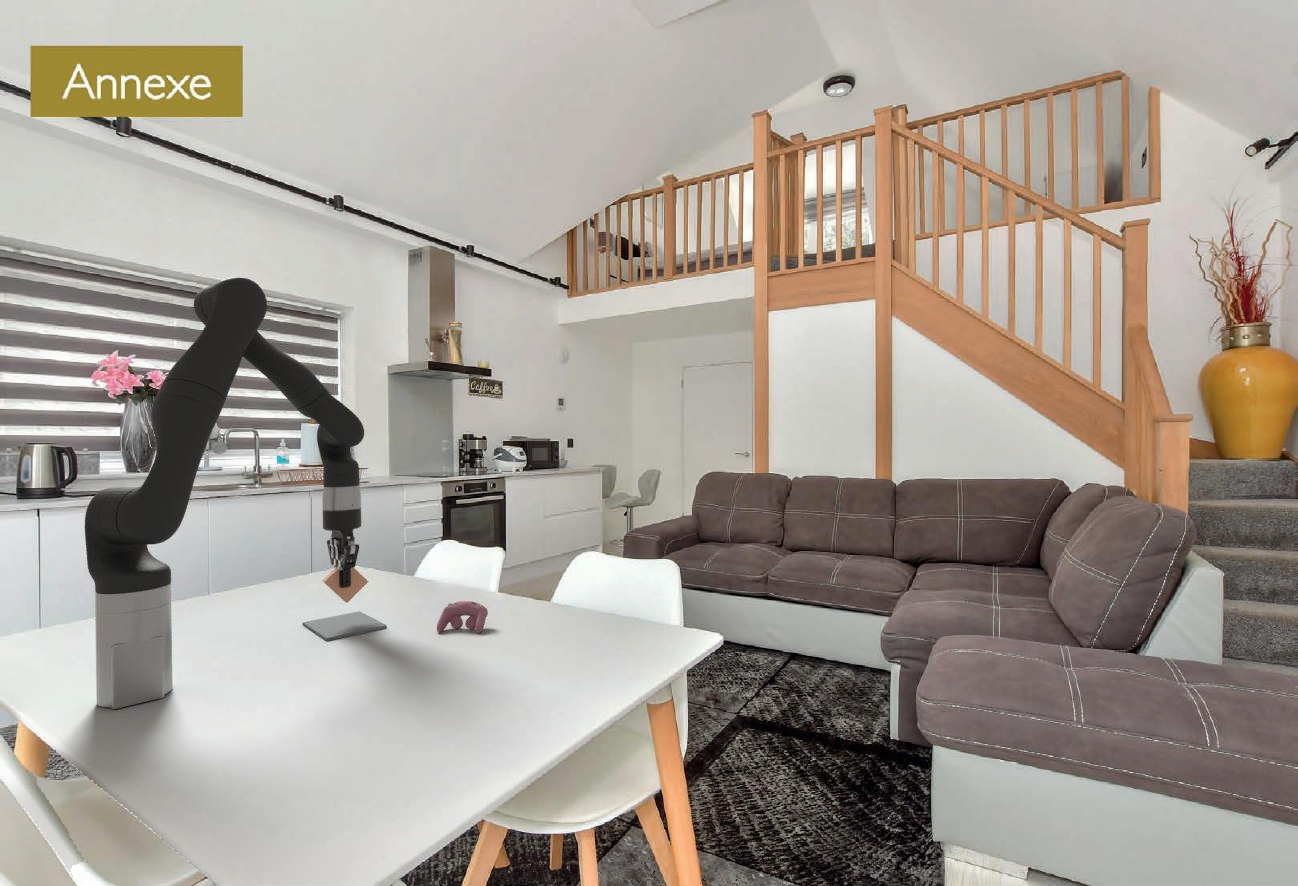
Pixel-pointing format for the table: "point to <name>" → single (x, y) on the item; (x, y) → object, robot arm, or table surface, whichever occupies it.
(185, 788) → the table surface
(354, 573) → the tile
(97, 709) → the table surface
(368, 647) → the table surface
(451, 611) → the video game controller
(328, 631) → the mat
